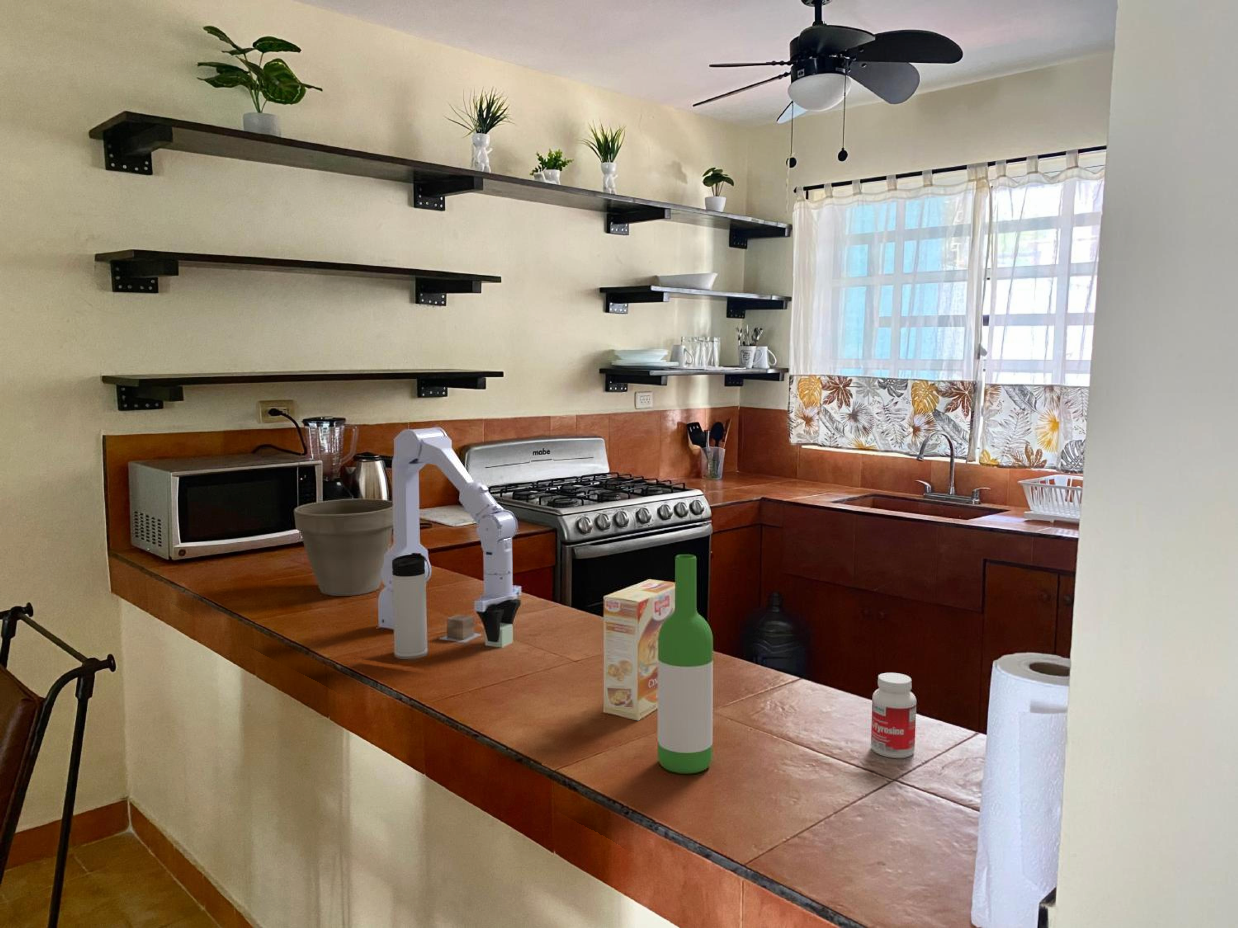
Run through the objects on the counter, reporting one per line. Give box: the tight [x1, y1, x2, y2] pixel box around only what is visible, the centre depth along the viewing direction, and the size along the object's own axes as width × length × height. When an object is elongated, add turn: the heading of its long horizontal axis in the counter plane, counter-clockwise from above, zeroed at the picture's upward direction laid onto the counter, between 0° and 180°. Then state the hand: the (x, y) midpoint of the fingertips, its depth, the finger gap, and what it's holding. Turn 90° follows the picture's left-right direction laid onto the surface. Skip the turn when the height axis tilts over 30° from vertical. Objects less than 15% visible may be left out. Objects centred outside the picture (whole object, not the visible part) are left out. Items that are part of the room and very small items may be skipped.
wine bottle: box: [657, 553, 714, 775], centre depth 131 cm, size 8×8×30 cm
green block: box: [484, 623, 514, 649], centre depth 188 cm, size 4×4×4 cm
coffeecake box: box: [603, 578, 675, 721], centre depth 156 cm, size 15×7×20 cm, turn 148°
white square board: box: [438, 632, 483, 644], centre depth 193 cm, size 12×12×1 cm
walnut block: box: [446, 613, 475, 640], centre depth 193 cm, size 4×4×4 cm
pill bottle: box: [870, 672, 917, 759], centre depth 136 cm, size 6×6×11 cm
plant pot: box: [293, 498, 393, 597], centre depth 236 cm, size 25×25×22 cm
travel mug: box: [392, 553, 428, 660], centre depth 181 cm, size 6×7×20 cm
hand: (499, 638), depth 188 cm, fingers closed on green block, 4 cm apart
